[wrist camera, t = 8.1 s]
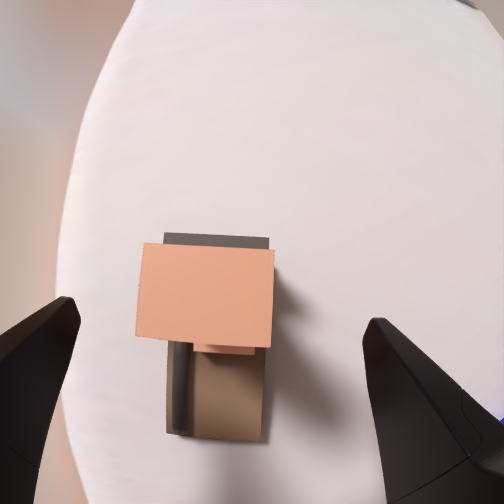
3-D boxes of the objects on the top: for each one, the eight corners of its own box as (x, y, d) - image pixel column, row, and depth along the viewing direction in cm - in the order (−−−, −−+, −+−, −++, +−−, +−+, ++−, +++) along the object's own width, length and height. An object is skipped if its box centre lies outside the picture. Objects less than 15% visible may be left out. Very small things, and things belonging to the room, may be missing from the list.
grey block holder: (259, 435, 14) (264, 470, 10) (170, 427, 14) (147, 458, 10) (268, 260, 17) (276, 238, 12) (179, 255, 17) (157, 232, 12)
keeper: (253, 352, 14) (267, 395, 6) (197, 348, 14) (133, 381, 5) (257, 273, 15) (276, 205, 6) (202, 270, 15) (150, 200, 6)
